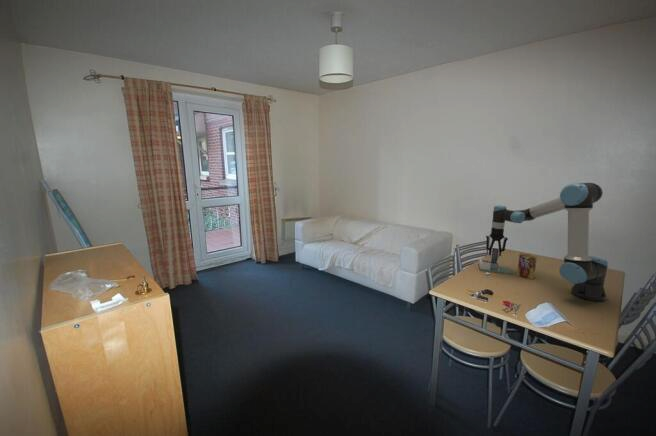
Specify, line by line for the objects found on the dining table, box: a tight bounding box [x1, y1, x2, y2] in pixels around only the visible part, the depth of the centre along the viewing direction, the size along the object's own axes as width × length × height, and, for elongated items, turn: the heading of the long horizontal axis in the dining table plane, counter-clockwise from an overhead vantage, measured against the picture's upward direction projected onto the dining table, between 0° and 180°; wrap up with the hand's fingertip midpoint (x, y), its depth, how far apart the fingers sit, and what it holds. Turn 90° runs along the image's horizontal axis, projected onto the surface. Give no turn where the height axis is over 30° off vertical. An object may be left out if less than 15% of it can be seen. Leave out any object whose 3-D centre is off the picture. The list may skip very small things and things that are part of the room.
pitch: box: [477, 258, 514, 276], centre depth 207 cm, size 13×20×6 cm, turn 69°
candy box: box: [516, 252, 538, 280], centre depth 193 cm, size 9×4×15 cm, turn 39°
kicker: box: [488, 247, 499, 270], centre depth 206 cm, size 6×5×14 cm
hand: (494, 259), depth 206 cm, fingers closed on kicker, 4 cm apart
